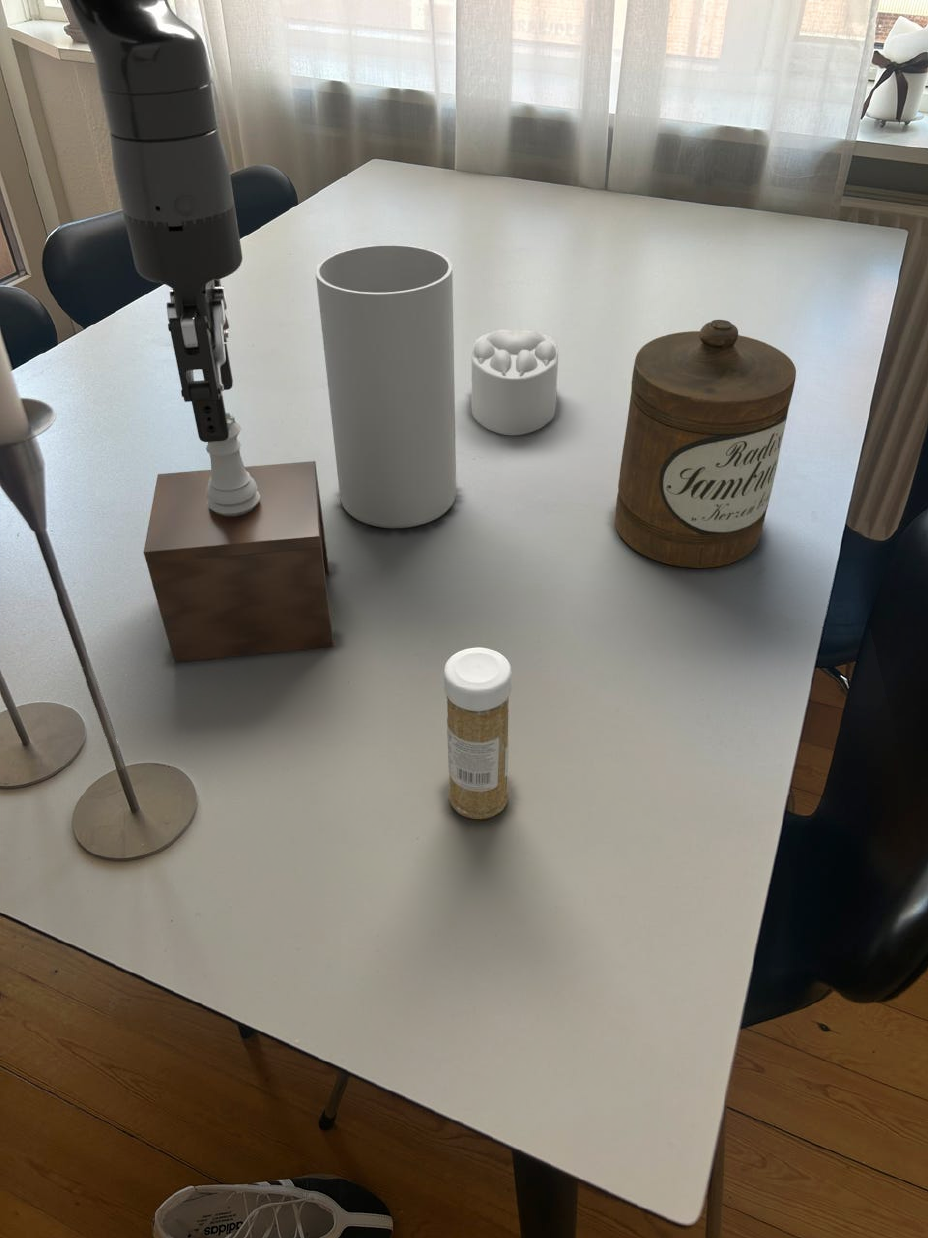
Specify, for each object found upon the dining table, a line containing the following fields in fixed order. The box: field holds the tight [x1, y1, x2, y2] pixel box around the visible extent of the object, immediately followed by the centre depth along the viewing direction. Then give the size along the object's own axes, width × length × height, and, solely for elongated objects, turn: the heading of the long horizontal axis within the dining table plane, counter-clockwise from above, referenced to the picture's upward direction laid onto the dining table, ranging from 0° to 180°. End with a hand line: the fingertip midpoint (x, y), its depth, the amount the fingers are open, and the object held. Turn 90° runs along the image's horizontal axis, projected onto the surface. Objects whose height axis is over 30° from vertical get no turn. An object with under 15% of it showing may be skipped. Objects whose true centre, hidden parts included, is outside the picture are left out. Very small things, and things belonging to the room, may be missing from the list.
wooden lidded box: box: [143, 460, 335, 663], centre depth 86 cm, size 14×12×12 cm
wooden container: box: [614, 319, 797, 569], centre depth 93 cm, size 15×15×22 cm
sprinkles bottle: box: [443, 647, 513, 820], centre depth 68 cm, size 5×5×14 cm
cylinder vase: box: [315, 243, 457, 529], centre depth 96 cm, size 12×12×25 cm
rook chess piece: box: [205, 412, 260, 516], centre depth 80 cm, size 4×4×8 cm
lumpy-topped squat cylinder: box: [471, 329, 559, 436], centre depth 117 cm, size 10×13×9 cm
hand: (217, 412), depth 77 cm, fingers open, 8 cm apart
